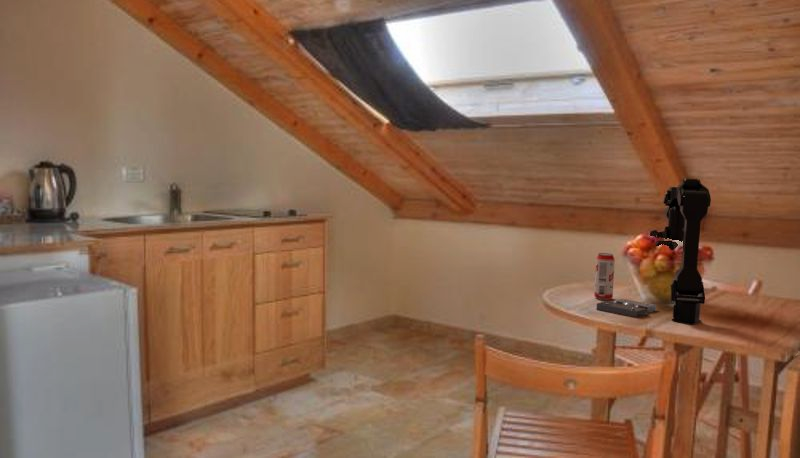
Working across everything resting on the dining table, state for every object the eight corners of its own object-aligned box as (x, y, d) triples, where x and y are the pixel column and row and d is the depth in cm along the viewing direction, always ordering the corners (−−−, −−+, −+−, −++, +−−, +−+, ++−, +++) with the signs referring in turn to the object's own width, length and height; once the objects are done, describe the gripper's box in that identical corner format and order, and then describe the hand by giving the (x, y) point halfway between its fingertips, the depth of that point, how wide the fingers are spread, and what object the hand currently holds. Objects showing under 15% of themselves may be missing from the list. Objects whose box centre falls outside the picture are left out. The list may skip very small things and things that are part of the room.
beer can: (592, 299, 225) (594, 254, 223) (596, 296, 230) (598, 252, 229) (610, 301, 222) (613, 255, 220) (614, 298, 227) (616, 253, 226)
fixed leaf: (649, 313, 203) (650, 306, 203) (636, 317, 198) (637, 310, 198) (609, 306, 214) (610, 299, 214) (596, 309, 208) (596, 302, 208)
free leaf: (655, 310, 209) (656, 303, 209) (643, 313, 203) (644, 306, 203) (621, 304, 218) (622, 297, 218) (609, 307, 212) (609, 300, 212)
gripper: (666, 220, 228) (663, 263, 230) (641, 223, 216) (638, 268, 217) (697, 223, 220) (694, 267, 222) (674, 226, 208) (671, 273, 209)
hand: (674, 269), depth 218 cm, fingers closed
